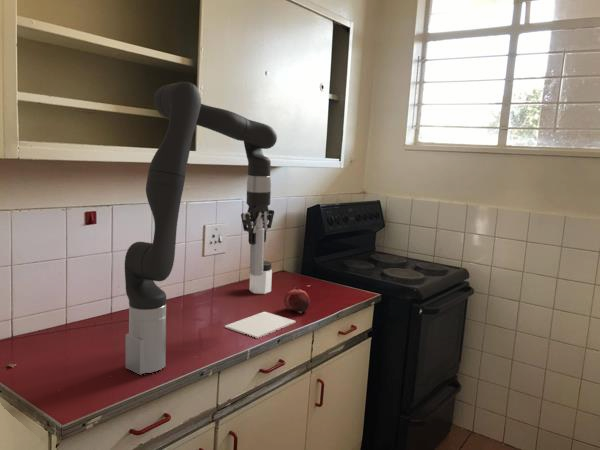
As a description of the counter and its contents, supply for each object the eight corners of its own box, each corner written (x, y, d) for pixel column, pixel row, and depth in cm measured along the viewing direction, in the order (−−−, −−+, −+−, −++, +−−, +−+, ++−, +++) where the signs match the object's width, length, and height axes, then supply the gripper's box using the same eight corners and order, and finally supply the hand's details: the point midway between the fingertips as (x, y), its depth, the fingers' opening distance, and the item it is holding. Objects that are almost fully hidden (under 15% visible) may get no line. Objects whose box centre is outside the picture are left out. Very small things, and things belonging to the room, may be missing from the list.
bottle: (259, 276, 160) (261, 214, 157) (247, 274, 162) (248, 213, 158) (265, 273, 164) (267, 212, 161) (253, 271, 166) (254, 211, 162)
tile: (257, 338, 156) (257, 336, 156) (224, 327, 164) (224, 325, 164) (295, 322, 172) (295, 320, 172) (264, 313, 180) (264, 311, 180)
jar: (274, 293, 205) (275, 264, 203) (255, 295, 201) (256, 265, 199) (264, 287, 213) (265, 259, 211) (246, 289, 209) (247, 261, 207)
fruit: (304, 317, 178) (306, 289, 177) (279, 312, 181) (281, 286, 180) (312, 309, 187) (314, 283, 185) (288, 305, 190) (290, 280, 188)
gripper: (252, 192, 150) (251, 248, 153) (282, 189, 162) (280, 241, 165) (234, 190, 154) (233, 244, 157) (264, 187, 166) (262, 238, 169)
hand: (257, 242), depth 161 cm, fingers closed on bottle, 4 cm apart
